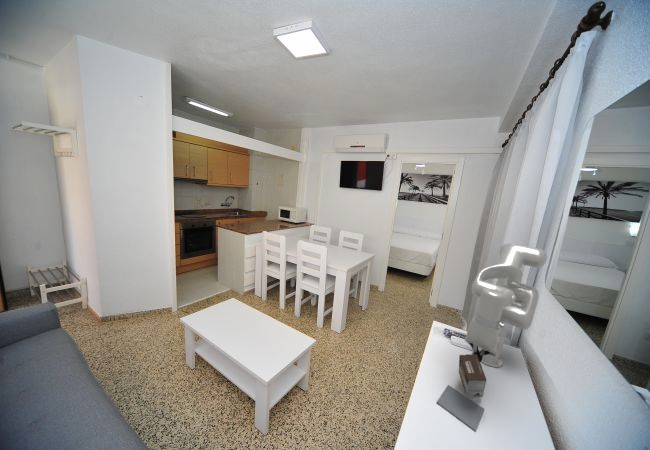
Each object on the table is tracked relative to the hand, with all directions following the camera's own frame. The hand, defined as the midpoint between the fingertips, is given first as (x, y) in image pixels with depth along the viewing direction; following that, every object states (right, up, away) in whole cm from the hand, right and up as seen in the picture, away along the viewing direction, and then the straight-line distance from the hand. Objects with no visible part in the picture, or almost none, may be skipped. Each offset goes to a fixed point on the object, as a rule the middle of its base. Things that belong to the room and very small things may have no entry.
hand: (476, 360), depth 91 cm
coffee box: (-1, -11, +2) cm, 11 cm away
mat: (-10, -14, -5) cm, 18 cm away
